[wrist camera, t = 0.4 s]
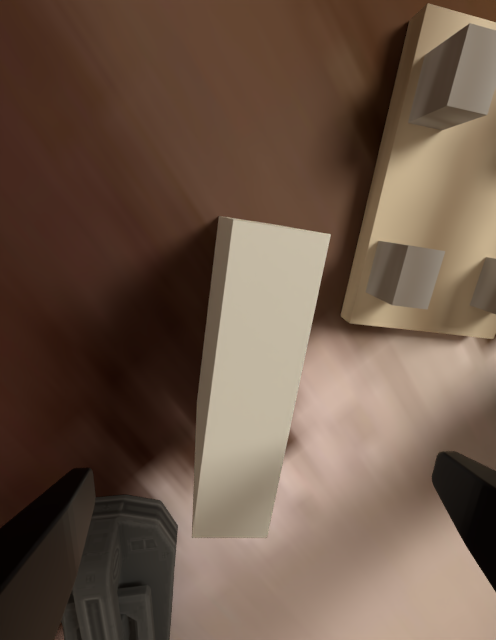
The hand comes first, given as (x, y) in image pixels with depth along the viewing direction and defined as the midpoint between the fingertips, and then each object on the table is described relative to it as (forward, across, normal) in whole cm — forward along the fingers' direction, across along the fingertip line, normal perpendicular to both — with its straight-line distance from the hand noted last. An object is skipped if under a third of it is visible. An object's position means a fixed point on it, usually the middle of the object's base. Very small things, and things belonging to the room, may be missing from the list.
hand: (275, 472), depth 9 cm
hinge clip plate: (+13, -13, -8) cm, 20 cm away
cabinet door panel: (+13, 0, 0) cm, 13 cm away
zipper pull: (+14, +8, +26) cm, 30 cm away
